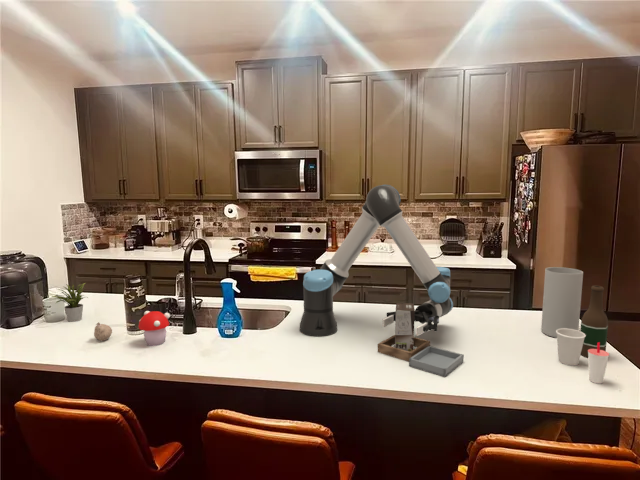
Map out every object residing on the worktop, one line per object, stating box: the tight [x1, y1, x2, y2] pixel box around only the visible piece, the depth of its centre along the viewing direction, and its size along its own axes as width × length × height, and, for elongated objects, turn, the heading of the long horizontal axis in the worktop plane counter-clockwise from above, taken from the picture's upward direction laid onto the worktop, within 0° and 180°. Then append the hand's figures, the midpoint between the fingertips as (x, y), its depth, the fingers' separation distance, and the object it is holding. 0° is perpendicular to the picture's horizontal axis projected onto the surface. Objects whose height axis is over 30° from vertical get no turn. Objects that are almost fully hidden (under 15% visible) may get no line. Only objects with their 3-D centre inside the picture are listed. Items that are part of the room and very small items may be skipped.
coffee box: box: [394, 302, 416, 352], centre depth 148 cm, size 9×6×16 cm
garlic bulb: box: [93, 322, 113, 342], centre depth 161 cm, size 7×6×8 cm
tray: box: [408, 345, 465, 378], centre depth 138 cm, size 12×14×2 cm
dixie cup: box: [556, 328, 586, 367], centre depth 139 cm, size 8×8×10 cm
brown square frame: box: [377, 334, 431, 362], centre depth 149 cm, size 13×14×3 cm
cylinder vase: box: [540, 266, 584, 339], centre depth 163 cm, size 12×12×25 cm
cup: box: [587, 342, 610, 385], centre depth 125 cm, size 5×5×12 cm
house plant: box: [51, 282, 89, 323], centre depth 185 cm, size 14×14×16 cm
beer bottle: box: [579, 285, 609, 359], centre depth 143 cm, size 8×8×24 cm
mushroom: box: [138, 310, 171, 347], centre depth 157 cm, size 11×11×12 cm
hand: (399, 327), depth 145 cm, fingers open, 12 cm apart
